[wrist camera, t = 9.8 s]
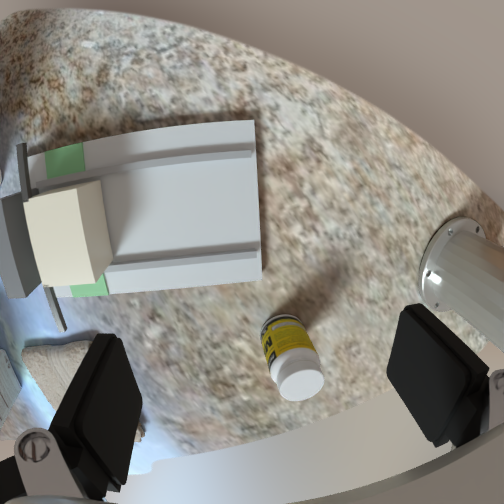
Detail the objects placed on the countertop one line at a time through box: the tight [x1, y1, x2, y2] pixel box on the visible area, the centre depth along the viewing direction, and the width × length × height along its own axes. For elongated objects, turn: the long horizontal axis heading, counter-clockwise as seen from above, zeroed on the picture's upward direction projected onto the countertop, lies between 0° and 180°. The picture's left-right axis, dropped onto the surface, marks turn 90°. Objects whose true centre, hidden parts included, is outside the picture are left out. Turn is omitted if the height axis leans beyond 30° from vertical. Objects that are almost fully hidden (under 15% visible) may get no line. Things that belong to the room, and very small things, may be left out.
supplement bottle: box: [260, 314, 324, 401], centre depth 27 cm, size 5×5×8 cm
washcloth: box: [21, 340, 145, 442], centre depth 30 cm, size 12×18×3 cm, turn 10°
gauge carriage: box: [16, 143, 114, 332], centre depth 21 cm, size 5×15×5 cm, turn 3°
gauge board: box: [0, 120, 262, 299], centre depth 22 cm, size 22×14×7 cm, turn 93°
